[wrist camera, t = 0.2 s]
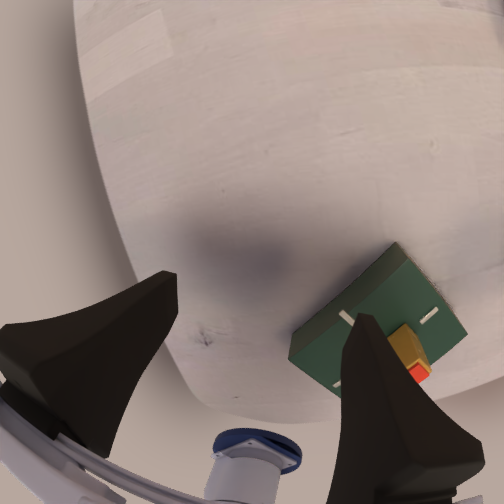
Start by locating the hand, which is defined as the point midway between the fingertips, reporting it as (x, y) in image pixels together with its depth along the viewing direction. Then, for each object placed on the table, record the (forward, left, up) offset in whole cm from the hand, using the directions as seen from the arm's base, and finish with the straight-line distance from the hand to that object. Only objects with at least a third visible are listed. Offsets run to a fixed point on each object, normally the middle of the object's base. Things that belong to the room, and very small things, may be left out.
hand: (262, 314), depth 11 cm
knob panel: (0, -9, -8) cm, 12 cm away
